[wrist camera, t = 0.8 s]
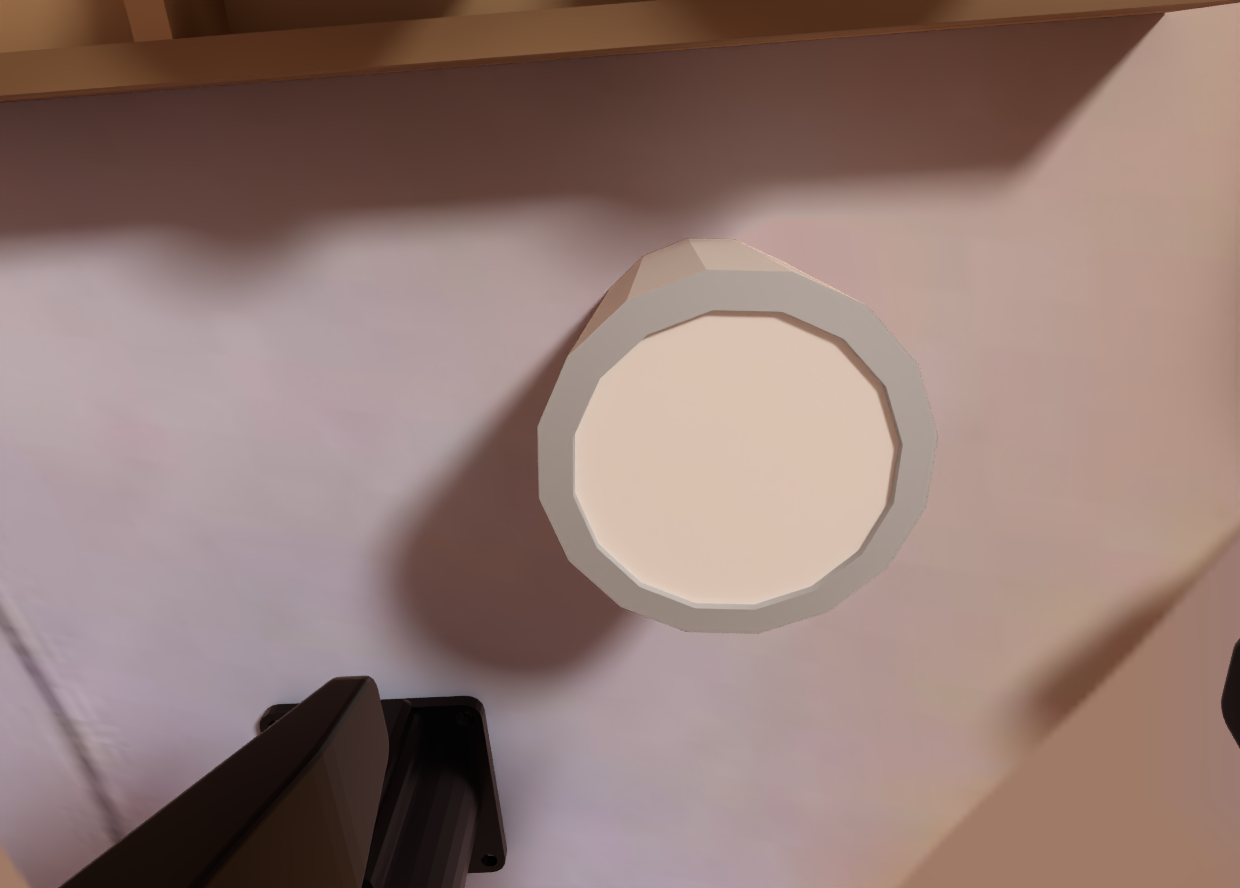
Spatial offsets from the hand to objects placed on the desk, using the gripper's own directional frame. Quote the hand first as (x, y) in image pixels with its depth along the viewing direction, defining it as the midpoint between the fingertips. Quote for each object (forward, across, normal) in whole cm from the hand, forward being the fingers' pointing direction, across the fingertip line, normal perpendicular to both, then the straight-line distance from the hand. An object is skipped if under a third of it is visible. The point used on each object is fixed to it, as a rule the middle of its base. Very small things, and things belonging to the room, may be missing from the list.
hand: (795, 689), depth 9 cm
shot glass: (+13, 0, 0) cm, 13 cm away
